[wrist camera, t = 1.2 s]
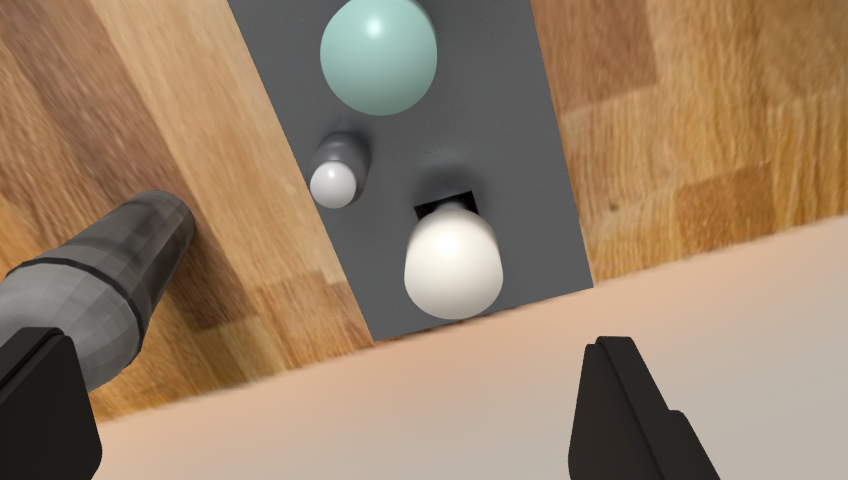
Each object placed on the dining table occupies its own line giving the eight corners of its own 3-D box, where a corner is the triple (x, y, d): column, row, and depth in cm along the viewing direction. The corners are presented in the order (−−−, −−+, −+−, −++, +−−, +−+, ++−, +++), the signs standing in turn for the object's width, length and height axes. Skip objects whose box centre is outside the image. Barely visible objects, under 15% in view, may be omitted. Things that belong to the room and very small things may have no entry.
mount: (484, -154, 32) (492, -165, 27) (577, 248, 42) (593, 287, 38) (233, -61, 34) (202, -58, 29) (380, 298, 44) (374, 341, 40)
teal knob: (420, -35, 31) (416, -21, 24) (448, 59, 33) (451, 96, 26) (331, -5, 32) (302, 18, 25) (363, 86, 34) (344, 129, 27)
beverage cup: (212, 278, 44) (56, 526, 26) (105, 257, 43) (-129, 496, 25) (219, 183, 40) (47, 394, 23) (104, 159, 40) (-166, 356, 22)
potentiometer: (359, 126, 33) (350, 151, 30) (378, 176, 35) (371, 206, 31) (307, 142, 34) (292, 168, 30) (328, 191, 35) (315, 222, 31)
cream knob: (478, 164, 36) (488, 223, 29) (499, 235, 38) (513, 306, 31) (399, 186, 37) (391, 249, 30) (424, 255, 39) (421, 329, 32)
